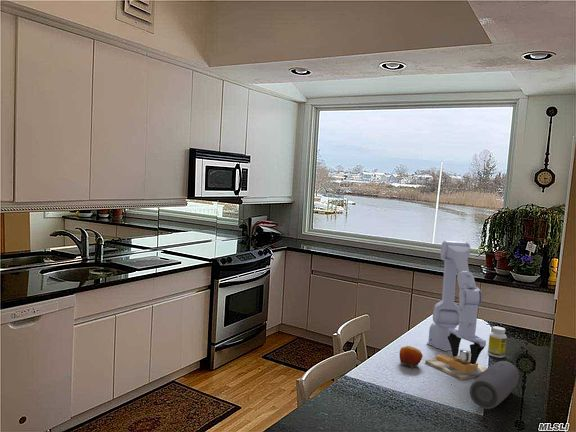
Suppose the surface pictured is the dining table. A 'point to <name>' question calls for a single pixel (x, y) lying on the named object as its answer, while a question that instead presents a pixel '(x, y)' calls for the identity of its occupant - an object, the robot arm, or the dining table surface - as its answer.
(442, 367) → the rosette board
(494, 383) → the bluetooth speaker
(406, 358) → the fruit
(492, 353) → the pill bottle
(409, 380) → the dining table surface
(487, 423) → the dining table surface
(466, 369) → the bracket
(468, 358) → the pin
